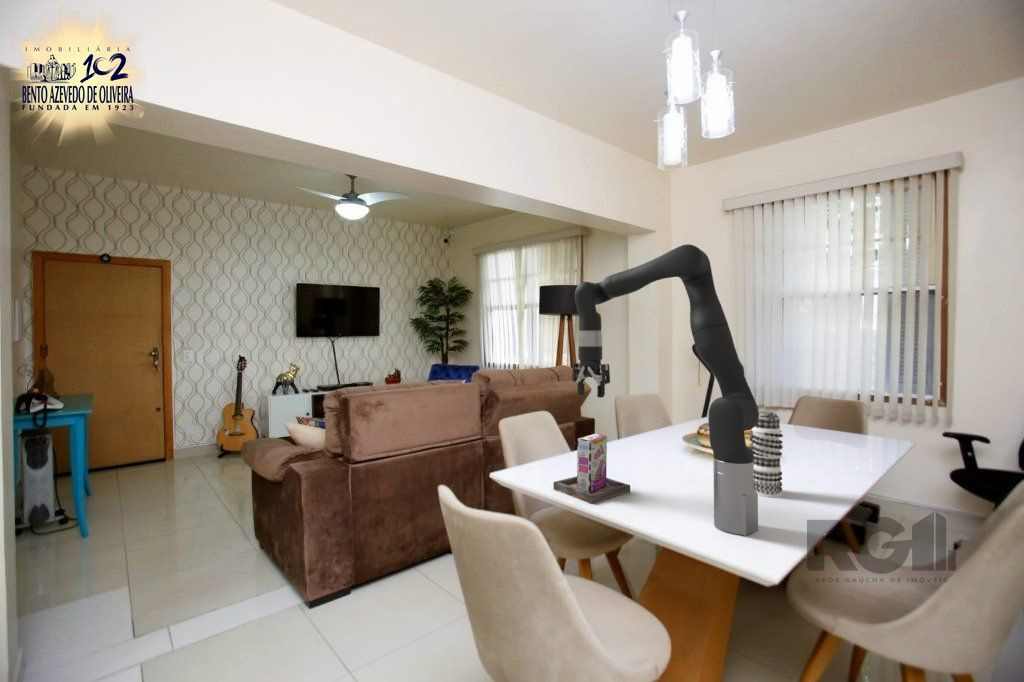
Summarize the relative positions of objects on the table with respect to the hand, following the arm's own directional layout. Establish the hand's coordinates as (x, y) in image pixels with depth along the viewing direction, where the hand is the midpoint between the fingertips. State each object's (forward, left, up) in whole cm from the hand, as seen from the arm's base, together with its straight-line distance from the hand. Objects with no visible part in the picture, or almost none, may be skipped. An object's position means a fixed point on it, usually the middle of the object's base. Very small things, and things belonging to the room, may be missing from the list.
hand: (590, 396), depth 145 cm
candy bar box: (0, 0, -29) cm, 29 cm away
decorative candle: (-34, -42, -30) cm, 62 cm away
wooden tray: (0, 0, -30) cm, 30 cm away
